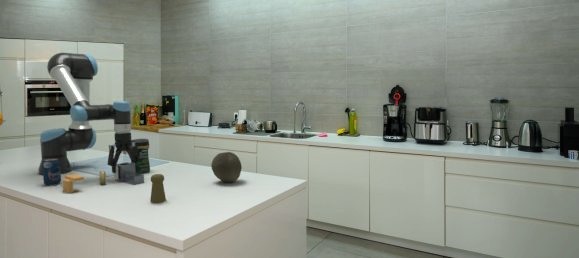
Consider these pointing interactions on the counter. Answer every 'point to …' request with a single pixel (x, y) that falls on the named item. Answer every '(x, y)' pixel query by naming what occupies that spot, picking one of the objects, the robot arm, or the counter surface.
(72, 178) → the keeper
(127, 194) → the counter surface
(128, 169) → the link
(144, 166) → the coffee jar
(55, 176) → the soda can
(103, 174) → the pin
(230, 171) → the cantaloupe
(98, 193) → the counter surface
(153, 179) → the cork
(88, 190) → the counter surface
